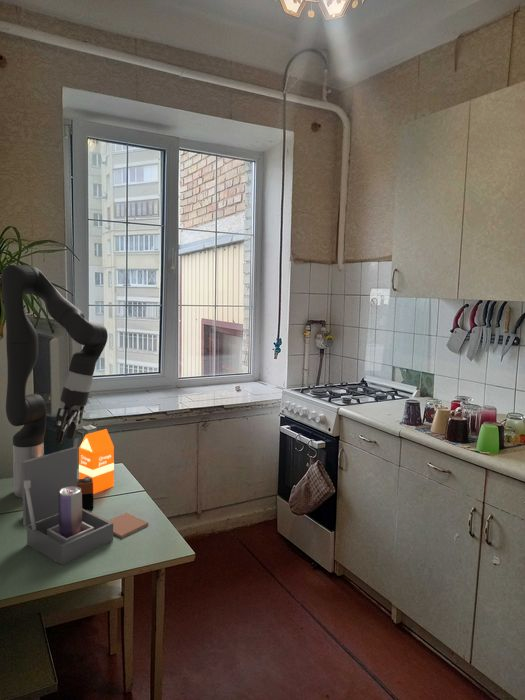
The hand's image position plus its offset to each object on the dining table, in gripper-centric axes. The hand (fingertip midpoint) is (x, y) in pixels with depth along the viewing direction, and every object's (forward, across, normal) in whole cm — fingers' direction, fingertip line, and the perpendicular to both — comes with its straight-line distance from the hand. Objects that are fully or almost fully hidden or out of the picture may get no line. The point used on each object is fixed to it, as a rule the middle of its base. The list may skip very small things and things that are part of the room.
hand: (63, 440), depth 149 cm
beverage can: (+24, +10, +13) cm, 29 cm away
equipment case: (+24, +10, +13) cm, 29 cm away
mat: (+20, 0, +24) cm, 31 cm away
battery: (+22, -10, +7) cm, 25 cm away
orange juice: (+20, -26, +6) cm, 33 cm away
